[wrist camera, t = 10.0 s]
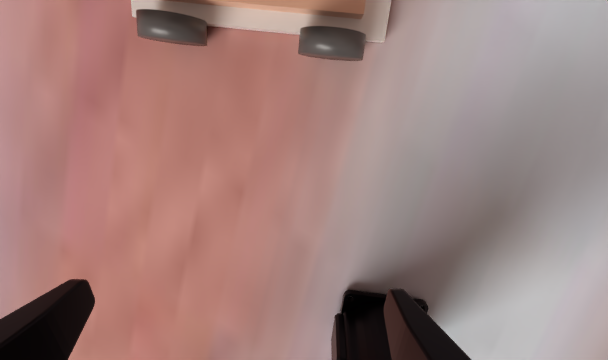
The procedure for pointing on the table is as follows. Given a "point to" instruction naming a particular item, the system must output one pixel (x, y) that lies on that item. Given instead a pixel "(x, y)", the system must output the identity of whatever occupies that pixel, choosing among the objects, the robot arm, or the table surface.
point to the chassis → (270, 22)
